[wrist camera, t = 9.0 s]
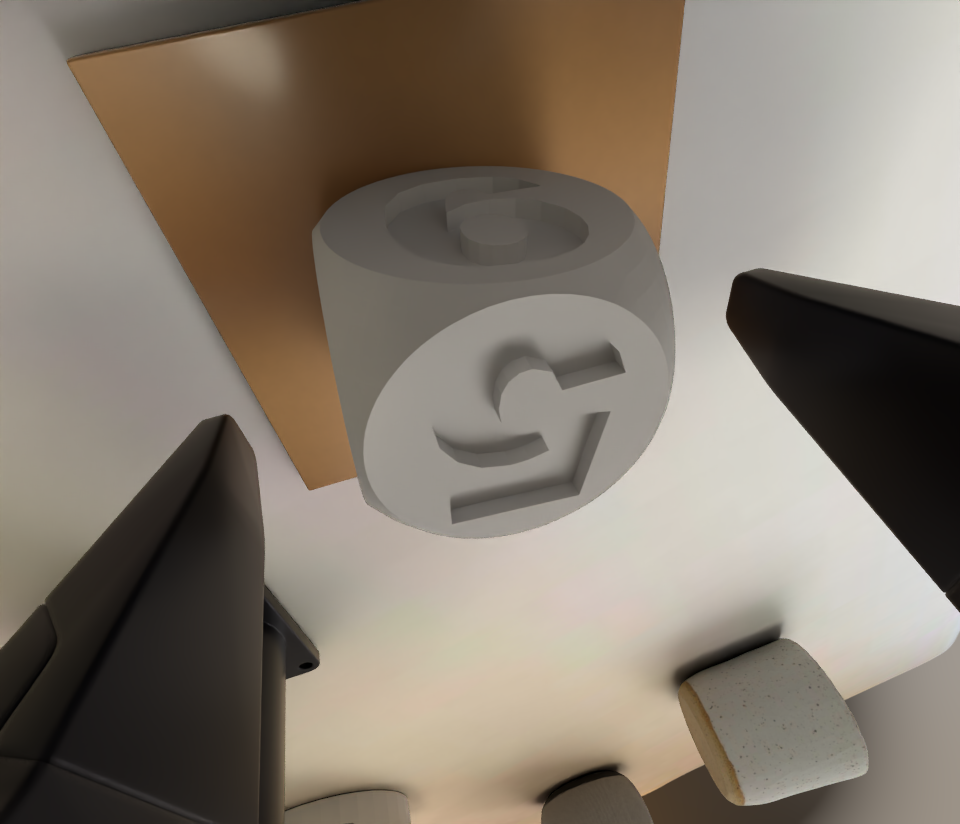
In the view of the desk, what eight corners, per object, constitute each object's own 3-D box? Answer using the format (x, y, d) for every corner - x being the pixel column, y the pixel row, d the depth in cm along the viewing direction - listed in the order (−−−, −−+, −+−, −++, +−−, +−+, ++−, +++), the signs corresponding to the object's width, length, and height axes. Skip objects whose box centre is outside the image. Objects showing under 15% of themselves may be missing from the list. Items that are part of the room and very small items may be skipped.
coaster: (638, 384, 16) (644, 392, 15) (308, 481, 15) (308, 491, 14) (679, -62, 9) (692, -63, 9) (71, 55, 8) (63, 60, 8)
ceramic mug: (667, 669, 33) (745, 816, 27) (788, 618, 33) (891, 756, 27) (671, 713, 40) (733, 836, 34) (770, 672, 40) (847, 789, 34)
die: (355, 395, 13) (380, 571, 9) (306, 179, 9) (315, 316, 6) (548, 360, 14) (643, 507, 10) (566, 153, 10) (717, 257, 7)
